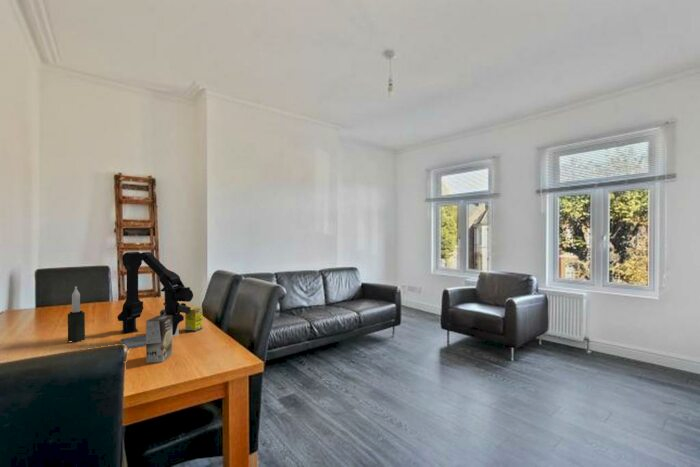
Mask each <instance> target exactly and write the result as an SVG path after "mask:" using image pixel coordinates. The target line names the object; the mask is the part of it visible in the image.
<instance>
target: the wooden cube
mask: <svg viewBox="0 0 700 467" xmlns="http://www.w3.org/2000/svg"><path fill="white" fill-rule="evenodd" d="M179 327H180V326H179V324H178V326H177V329H176V333H175V335H172V338H173V337H178V336H179V335H180V334H179V332H180V331H179V329H180V328H179Z"/></svg>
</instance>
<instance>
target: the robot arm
mask: <svg viewBox="0 0 700 467" xmlns="http://www.w3.org/2000/svg"><path fill="white" fill-rule="evenodd" d="M121 260H122V266H123V267H124V269H125V270H126V299H125V302H123V305H122V310H121V312H119V314H118V315H117V320H118V322H122V329H120V332H121V333H122V334H129V333H134V332H136V333H137V332H139V330H138V328H137V319H139V318H141V315H142V313H143V310H144V302H143V300H142V301H141V300H140V298H139V269H140V268H141V265H142V264H143V262H144V263H145V264H146V265H147V266H148V267H149V268H150V269H151V270H152V271H153V272H154V273H155V274H156V275H157V276H158V279H159V282H160V284H161V285H162V286H163V287H162V288H161V289H160V292H164V302H163V304H162V305H163V306H164V309H161V310H160V311H159V316H162V315H172V335H175V333H176V329H177V326H178V325H179V323H181V322H182V321H185V318H184V317H185V316H184V315H183V314H185V313H186V314H189V312H190V309H191V308H192V307H191V306H189V305H187V304H186V303H188V302H189V303H190V302H191V301H192V300H193V298H194V293H193V291H192V289H191V286H188V287H187V286H185V284H184V283H183V281H182V279H181V277H180V275H178V273H176V272H174V271H172V270H170V269H168V268H166V266H165V265H164V264H162V262H160V260H159V259H157V257H155V255H154V254H153V252H151V251H144V252H140V251H128V252H125V253H124V254H122V257H121ZM185 302H186V303H185ZM181 313H183V314H181Z"/></svg>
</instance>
